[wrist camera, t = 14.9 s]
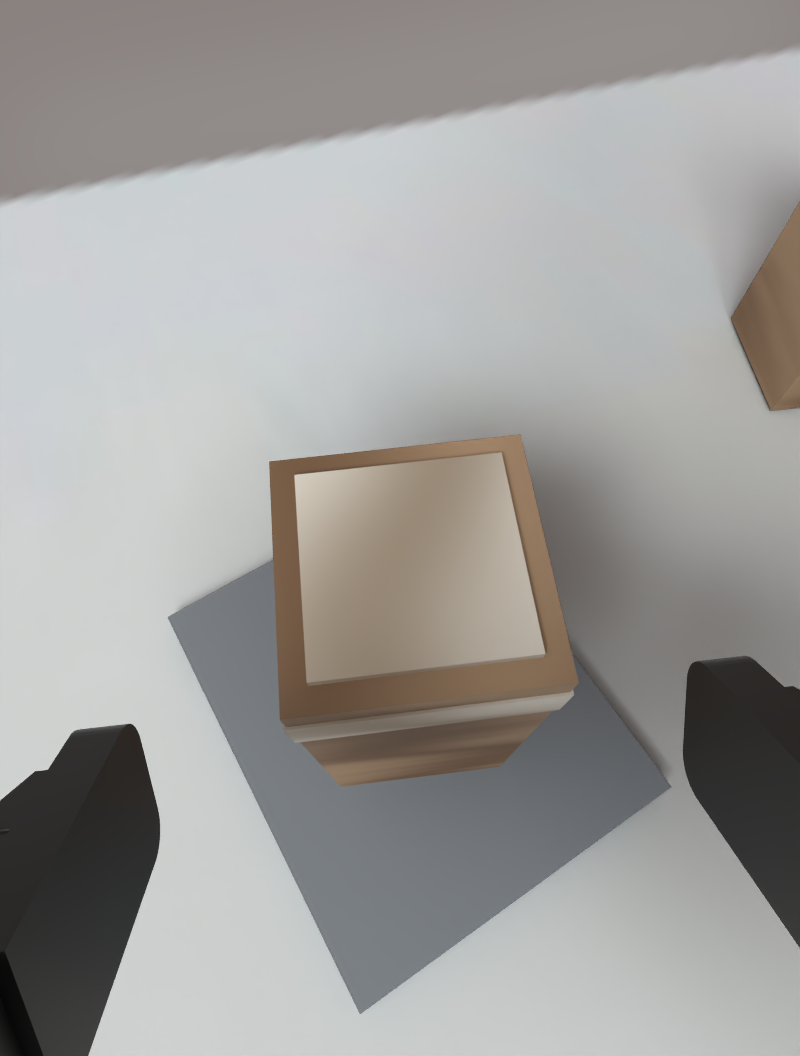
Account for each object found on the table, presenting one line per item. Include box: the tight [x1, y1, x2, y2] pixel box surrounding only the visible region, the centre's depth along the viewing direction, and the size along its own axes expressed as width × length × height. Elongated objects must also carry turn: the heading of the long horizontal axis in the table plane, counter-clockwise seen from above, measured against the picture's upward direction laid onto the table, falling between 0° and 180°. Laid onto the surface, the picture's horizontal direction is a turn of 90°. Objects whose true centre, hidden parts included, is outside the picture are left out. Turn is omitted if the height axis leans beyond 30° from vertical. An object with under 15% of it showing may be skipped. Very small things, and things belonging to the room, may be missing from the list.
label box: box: [269, 435, 579, 787], centre depth 16 cm, size 5×5×10 cm
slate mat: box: [168, 560, 671, 1014], centre depth 20 cm, size 10×12×1 cm
